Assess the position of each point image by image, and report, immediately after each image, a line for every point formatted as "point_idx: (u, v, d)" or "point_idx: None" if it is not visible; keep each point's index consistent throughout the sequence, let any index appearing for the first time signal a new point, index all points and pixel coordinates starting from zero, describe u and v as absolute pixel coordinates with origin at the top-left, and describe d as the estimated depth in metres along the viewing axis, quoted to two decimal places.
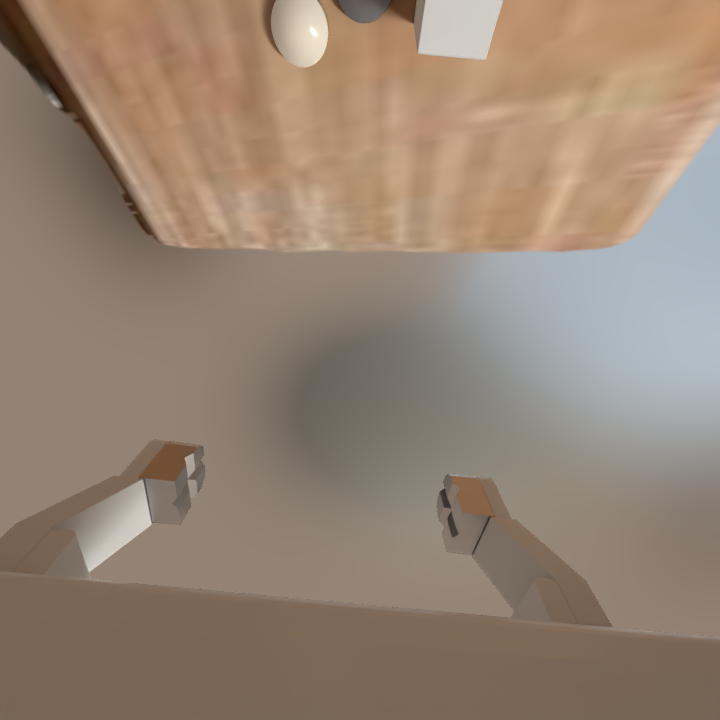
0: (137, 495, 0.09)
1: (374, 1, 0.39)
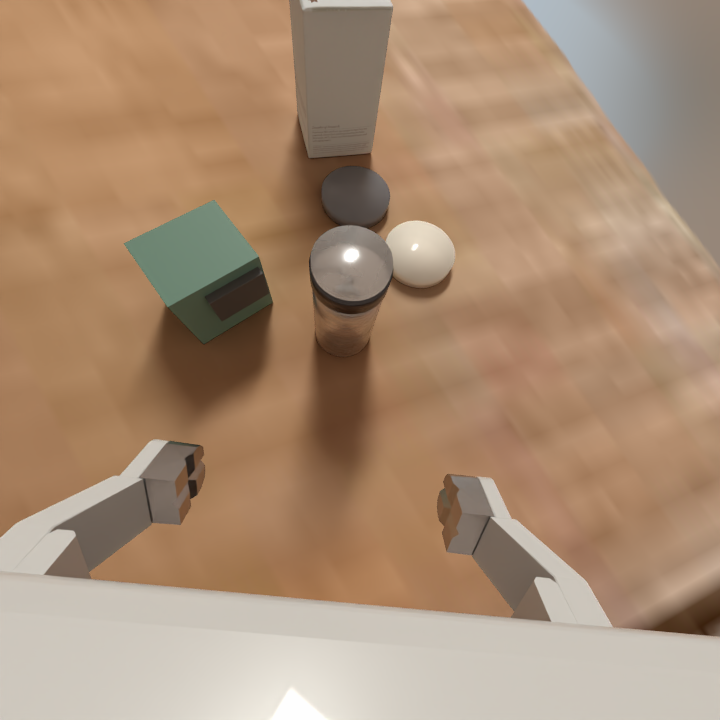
0: (137, 495, 0.09)
1: (368, 180, 0.35)
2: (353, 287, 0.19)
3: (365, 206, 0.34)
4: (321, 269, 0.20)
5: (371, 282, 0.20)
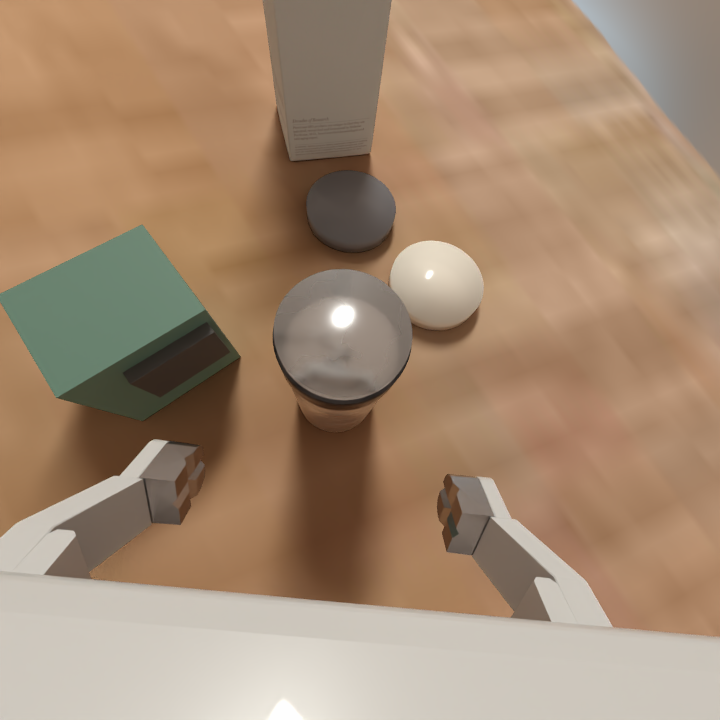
0: (137, 495, 0.09)
1: (366, 189, 0.27)
2: (346, 379, 0.11)
3: (364, 223, 0.26)
4: (291, 348, 0.12)
5: (376, 368, 0.12)
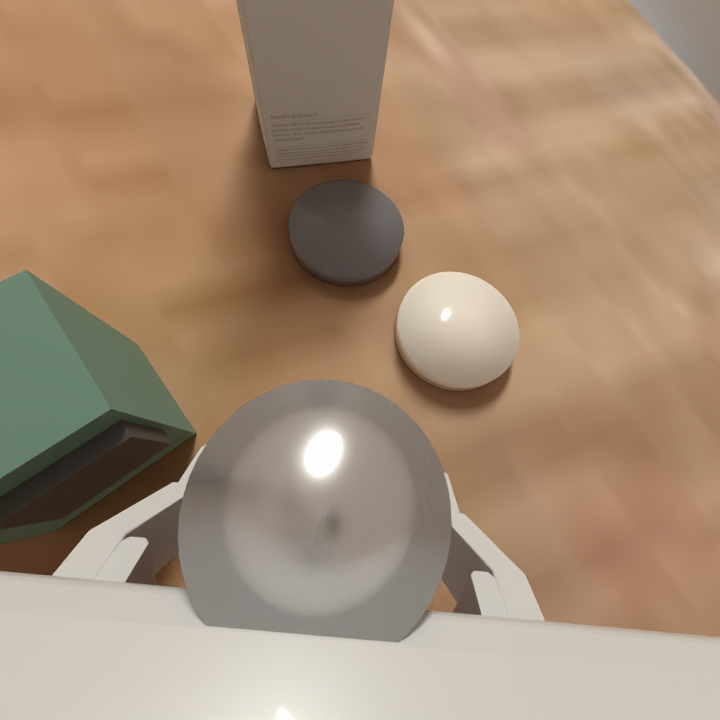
0: None
1: (367, 204, 0.21)
2: (321, 631, 0.06)
3: (363, 249, 0.20)
4: (212, 562, 0.06)
5: (383, 600, 0.06)
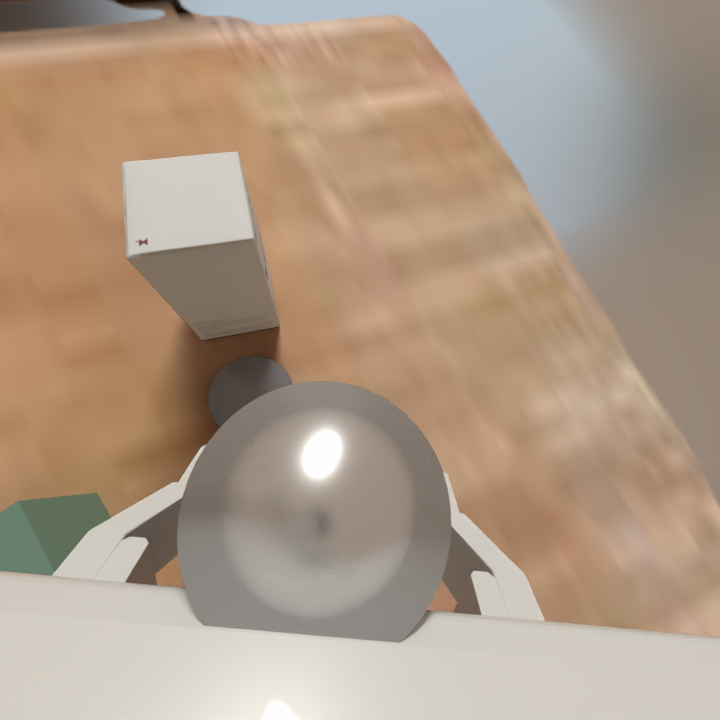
0: None
1: (267, 376, 0.29)
2: (321, 633, 0.06)
3: None
4: (212, 564, 0.06)
5: (383, 602, 0.06)
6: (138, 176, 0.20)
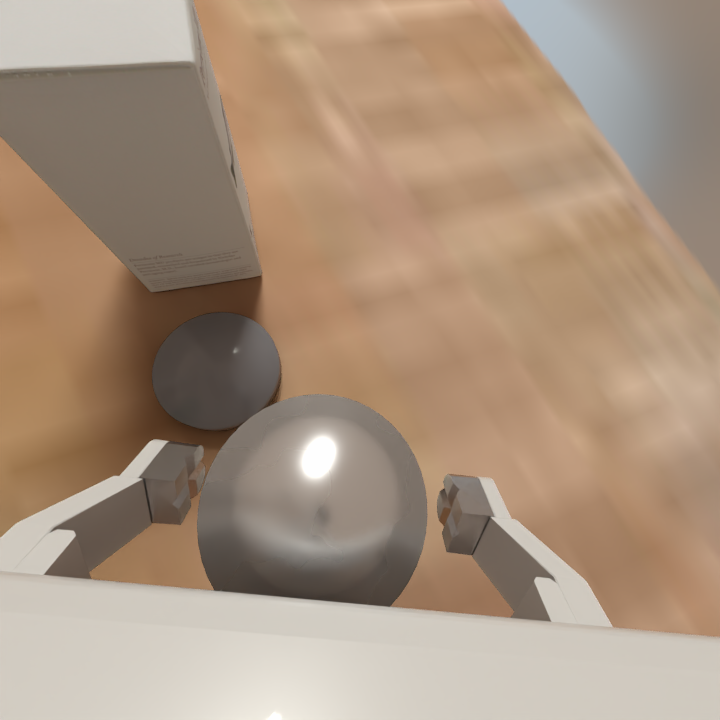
0: (137, 495, 0.09)
1: (241, 340, 0.20)
2: None
3: (230, 395, 0.19)
4: (226, 549, 0.07)
5: (368, 581, 0.07)
6: None
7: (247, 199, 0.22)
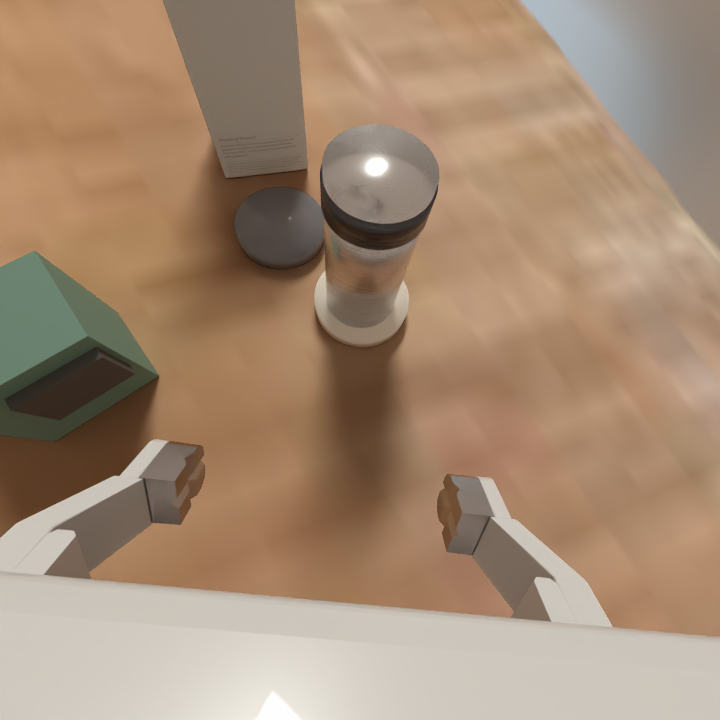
0: (137, 495, 0.09)
1: (297, 205, 0.27)
2: (384, 202, 0.13)
3: (291, 240, 0.26)
4: (338, 179, 0.14)
5: (409, 196, 0.14)
6: None
7: None
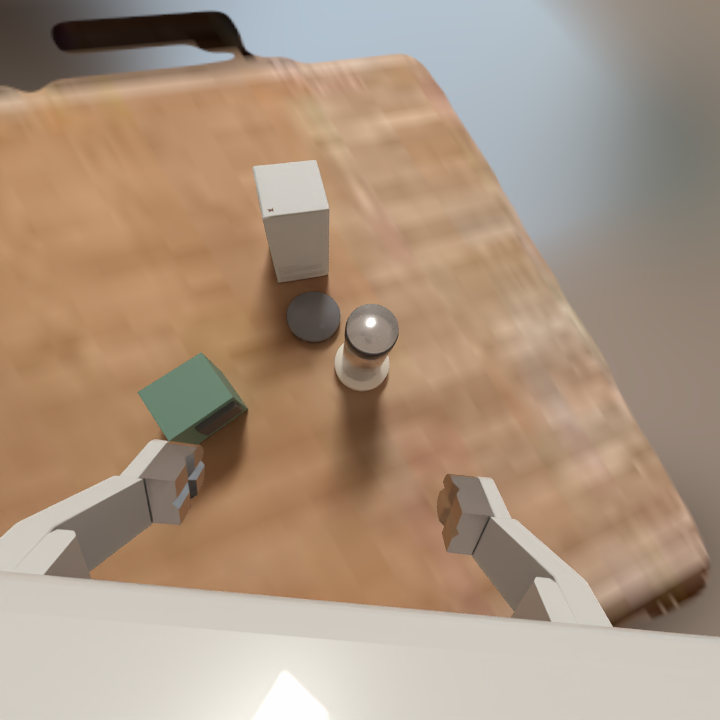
0: (137, 495, 0.09)
1: (323, 303, 0.44)
2: (374, 345, 0.31)
3: (320, 326, 0.43)
4: (354, 334, 0.32)
5: (385, 341, 0.32)
6: (263, 174, 0.36)
7: None
